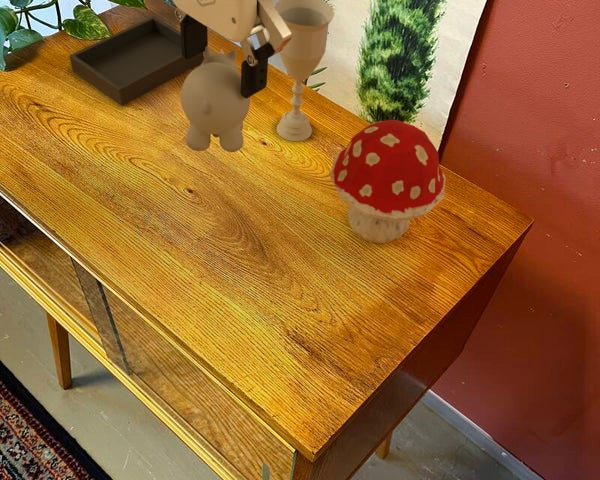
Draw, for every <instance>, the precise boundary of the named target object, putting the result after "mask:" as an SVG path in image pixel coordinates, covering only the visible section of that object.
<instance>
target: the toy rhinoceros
mask: <svg viewBox="0 0 600 480" xmlns="http://www.w3.org/2000/svg"><path fill="white" fill-rule="evenodd" d="M203 55H204V58H203V59H204V61H203V62H202V63H200V65H199V66H197V67H195V68H194V69H193V70H192V71H191V72H189V74H188V75H187V76H186V78H185V79H184V81H183V83H182V87H181V91H180V103H181V108H182V111H183V113H184V116H185V117H186V118H187V120H188V122H189V127H188V129H187V131H186V135H185V143H186V145H187V147H188V148H189V149H190V150H192V151H195V152H202V151H206V150H208V149H209V148H210V146H211V142H212V141H211V140H212V139H211V135H212V137H214V138H215V139H216V138H218V141H219V146H220V147H221V149H222V150H223V151H226V152H228V153H235V152H238V151H240V150H241V149H242V148H243V146H244V142H245V141H244V135H243V129H244V121H245V120H246V119H247V116H248V114H249V112H250V106H251V96H250V97H249V98H247V99H246V98H244V97H243V96H242V95H241V72H239V67H238V65H237V62H236V59H237V49H233V50H231V51H230V52H229V53H227V54H226V53H225V52H224V50H223V48H221V49H220V52H213V51H212V50H211V49H210V47H209V46H208V47H207V46H206V47H205V49H204V52H203Z"/></svg>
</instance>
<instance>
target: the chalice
mask: <svg viewBox="0 0 600 480" xmlns="http://www.w3.org/2000/svg"><path fill="white" fill-rule="evenodd" d="M274 7H275V8H276V10H277V11H278V13H279V14H280V16H281V17H282V19H283V20H284V22H285V23H286V25H287V26H288V28H289V29H290V31H291V33H292V39H291V40H290V41H289V42H288V43H287V44H286V45H285V47H283V49H282V51H280V52H279V55H280V59H281V62H282V64H283V66H284V68H285V70H286V72H287V75H288V76H289V77H290V78H291V79H293V80H294V84H293V86H292V87H291V91H292V92H293V93H292V94H293V95H292V97H291V98H290V100H289V101H290V104H292V105H291V106H292V108H291V110H288V111H287V112H285V113H284V114H283V115H282V117H281V119H280V120H279V123H278V124H277V126H276V132H277V134H278V136H280V137H281V138H283V139H284V140H287V141H289V142H302V141H305V140H307V139H308V138H310V137H311V136H312V134H313V133H312V132H313V128H312V126H311V123H310V121H309V118H308V116H307V115H306V114H305V113H304V112H303V111H301V105H303V104H304V100H303V99H302V93H303V92H304V91H305V90H304V88H303V81H304V80H305V81H306V80H308V79H309V78H310V77H311V75H312V74H313V72H314V71H315V70H316V68H317V67H318V66H319V65H320V63H321V61H322V59H323V57H324V55H325V53H326V48H327V40H328V33H329V32H328V31H329V24H330V23H331V22H332V20H333V19H334V16H335V11H334V9H333V7H332V6H331V5H330V4H329V3H328V2H325V1H324V0H278V1H277V2H276V3H275V5H274Z"/></svg>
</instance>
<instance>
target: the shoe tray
mask: <svg viewBox="0 0 600 480" xmlns="http://www.w3.org/2000/svg"><path fill="white" fill-rule="evenodd" d="M68 57H69V61H70V65H71V70H72V72H73V73H74V74H76V75H77V76H78V77H80V78H81V79H83V80H84V81H85V82H87V83H89V84H90V85H92V86H93V87H94V88H96V89H97V90H98V91H100V92H102V93H103V94H105V95H106V96H107V97H108V98H110V99H111V100H112V101H114V102H116V103H117V104H118V105H120V106H123V105H126V104H128V103H129V102H131V101H134V100H135V99H137V98H139V97H140V96H143V95H144V94H147V93H148V92H149V91H151V90H154V89H156V88H157V87H159V86H161V85H163V84H165V83H166V82H168V81H170V80H172V79H174V78H176V77H178V76H180V75H181V74H184V73H185V72H186V71H189V70H191V69H192V68H194V67H196V66H198V65H201V64H202V62H203V61H204V59H205V58H204V52H202V53H200V54H198V55H196V56H194V57H192V58H190V59H185V58H184V57H182V49H181V32H180V30H178V29H176V28H175V27H173V26H172V25H170V24H168V23H167V22H165V21H163V20H161V19H160V18H158V17H157V16H155V15H152V16H151V17H148V18H146V19H143V20H142V21H139V22H137V23H135V24H133V25H131V26H129V27H127V28H124V29H123V30H120V31H119V32H116V33H114V34H112V35H110V36H107V37H105V38H103V39H101V40H98V41H97V42H95V43H93V44H90V45H88V46H86V47H85V48H82V49H79V50H77V51H75V52H73V53H71V54H69V55H68Z"/></svg>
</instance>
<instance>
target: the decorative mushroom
mask: <svg viewBox="0 0 600 480" xmlns="http://www.w3.org/2000/svg"><path fill="white" fill-rule="evenodd" d="M329 178H330V180H331V182H332V184H333V186H334V188H335V190H336V192H337V194H338V196H339V197H340V199H341V201H342V202H343V203H345V204H346V205H348V210H347V214H346V219H347V221H348V223H349V225H350V227H351V229H352V230H353V232H354V233H355V235H357V236H359V237H360V238H361V239H363V240H364V241H366V242H369V243H373V244H386V243H389V242H390V243H391V242H393V241H396V240H398V239H399V238H400V237H402V236H403V234H405V233H406V232H407V231H408V230H409V227H410V221H411V220H413V219H416V218H422V217H425V216H426V215H427V214H428V213H429V212H431V210H433V209H434V208H435V207H436V206H437V205H438V204H440V203H441V201H442V200H443V199H444V198H445V191H446V190H445V189H446V179H447V177H446V175H445V173H444V171H443V170H442V168H441V166H440V156H439V151H438V150H437V148H436V147H435V145H434V143H433V142H432V141H431V140H430V138H429V136H428V135H427V133H426V132H425V131H423V130H422V129H420V128H419V127H417V126H415V125H414V124H411V123H409V122H406V121H401V120H397V119H388V120H381V121H373V122H372V123H370V124H369V125H367V126H366V127H364V128H363V129H362V130H360V131H359V132H357V133H356V134H354V135H353V136H352V138H351V139H350V141H349V142H348V144H347V146H346V147H345V148H344V149H342V150H341V151H339V152H338V153H336V154H335V155H334V158H333V162H332V166H331V170H330V174H329Z"/></svg>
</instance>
